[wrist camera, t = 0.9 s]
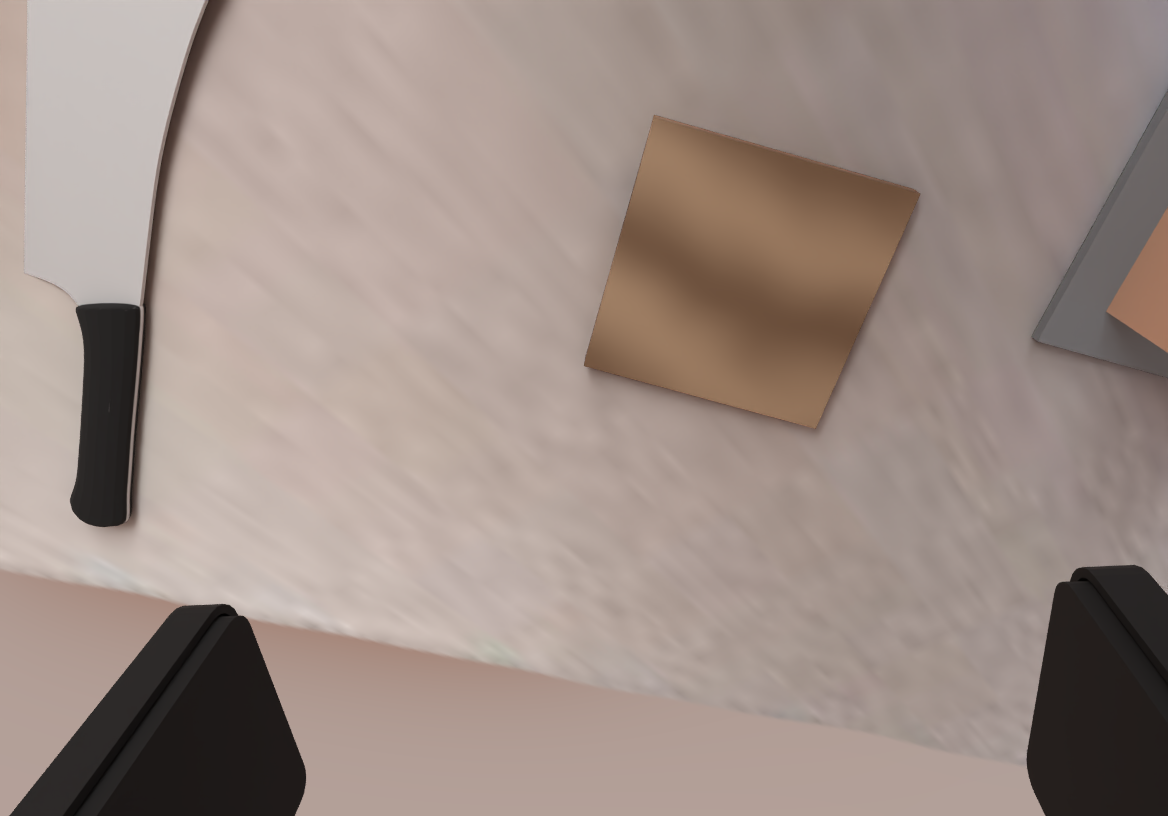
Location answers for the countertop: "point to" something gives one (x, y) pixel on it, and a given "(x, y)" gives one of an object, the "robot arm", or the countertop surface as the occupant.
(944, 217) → the countertop surface
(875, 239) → the board
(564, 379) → the countertop surface
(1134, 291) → the block
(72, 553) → the countertop surface
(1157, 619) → the robot arm
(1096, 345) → the mat
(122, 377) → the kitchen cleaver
